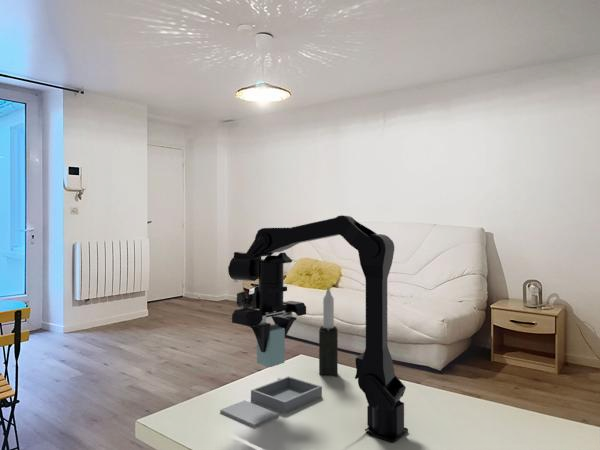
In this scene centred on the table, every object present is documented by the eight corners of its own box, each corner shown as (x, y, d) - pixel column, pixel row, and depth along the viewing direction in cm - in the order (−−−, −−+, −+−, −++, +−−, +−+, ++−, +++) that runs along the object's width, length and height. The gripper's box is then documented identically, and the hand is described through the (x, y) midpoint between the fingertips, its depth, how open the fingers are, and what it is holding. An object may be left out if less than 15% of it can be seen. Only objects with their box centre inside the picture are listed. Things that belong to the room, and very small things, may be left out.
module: (284, 362, 98) (284, 324, 98) (270, 367, 95) (270, 327, 95) (271, 358, 101) (271, 321, 102) (256, 363, 98) (257, 324, 98)
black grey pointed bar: (337, 372, 122) (337, 285, 123) (337, 378, 117) (337, 287, 118) (319, 371, 123) (319, 285, 123) (318, 377, 118) (319, 287, 118)
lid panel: (278, 419, 91) (278, 413, 91) (254, 430, 86) (254, 424, 86) (244, 405, 99) (244, 400, 99) (220, 415, 93) (220, 409, 93)
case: (321, 398, 103) (321, 386, 103) (284, 416, 93) (284, 402, 93) (285, 387, 111) (285, 375, 111) (248, 401, 101) (248, 389, 101)
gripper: (275, 276, 111) (275, 336, 110) (217, 282, 97) (216, 351, 97) (307, 280, 103) (307, 344, 103) (248, 287, 90) (248, 361, 89)
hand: (270, 349), depth 98 cm, fingers closed on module, 4 cm apart
